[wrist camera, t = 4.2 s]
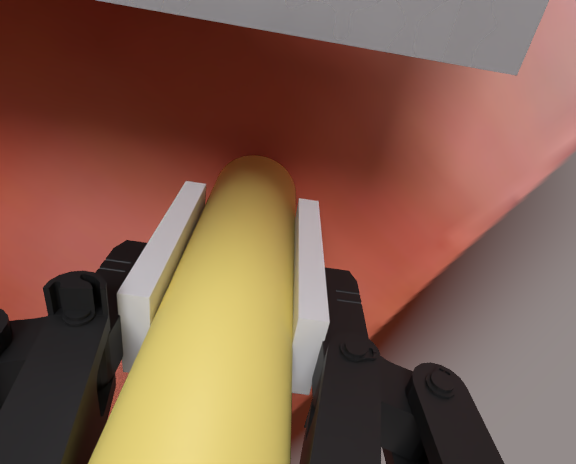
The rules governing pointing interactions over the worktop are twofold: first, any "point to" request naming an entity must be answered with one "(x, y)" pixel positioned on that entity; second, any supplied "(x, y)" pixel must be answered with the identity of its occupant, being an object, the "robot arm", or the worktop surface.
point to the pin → (218, 337)
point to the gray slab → (386, 25)
